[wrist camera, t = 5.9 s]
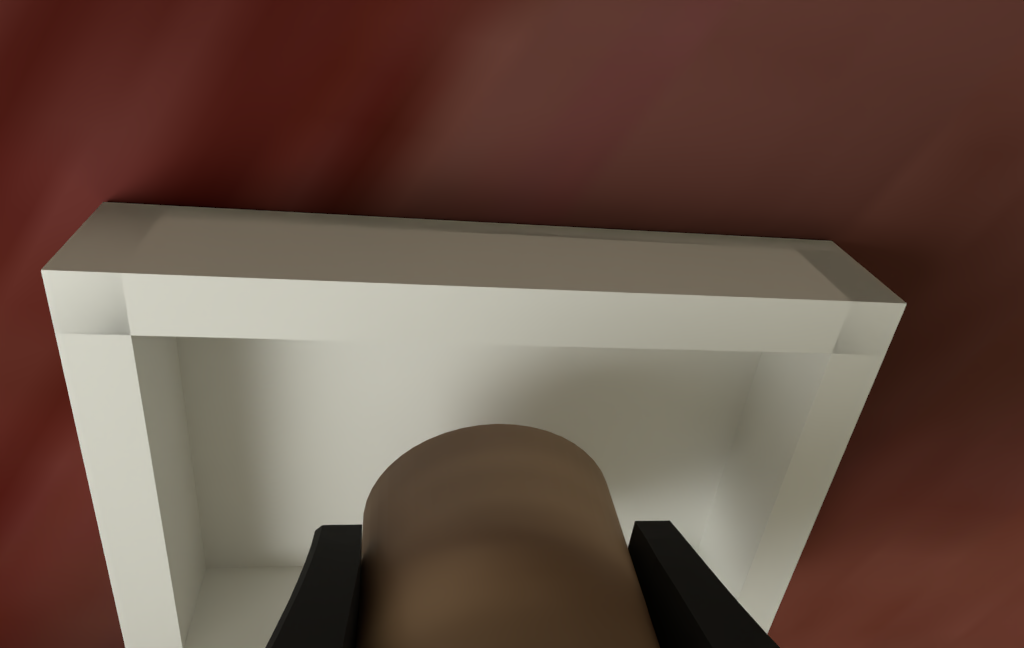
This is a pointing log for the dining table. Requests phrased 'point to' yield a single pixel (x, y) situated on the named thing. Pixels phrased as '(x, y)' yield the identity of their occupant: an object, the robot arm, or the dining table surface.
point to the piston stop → (497, 548)
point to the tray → (440, 385)
